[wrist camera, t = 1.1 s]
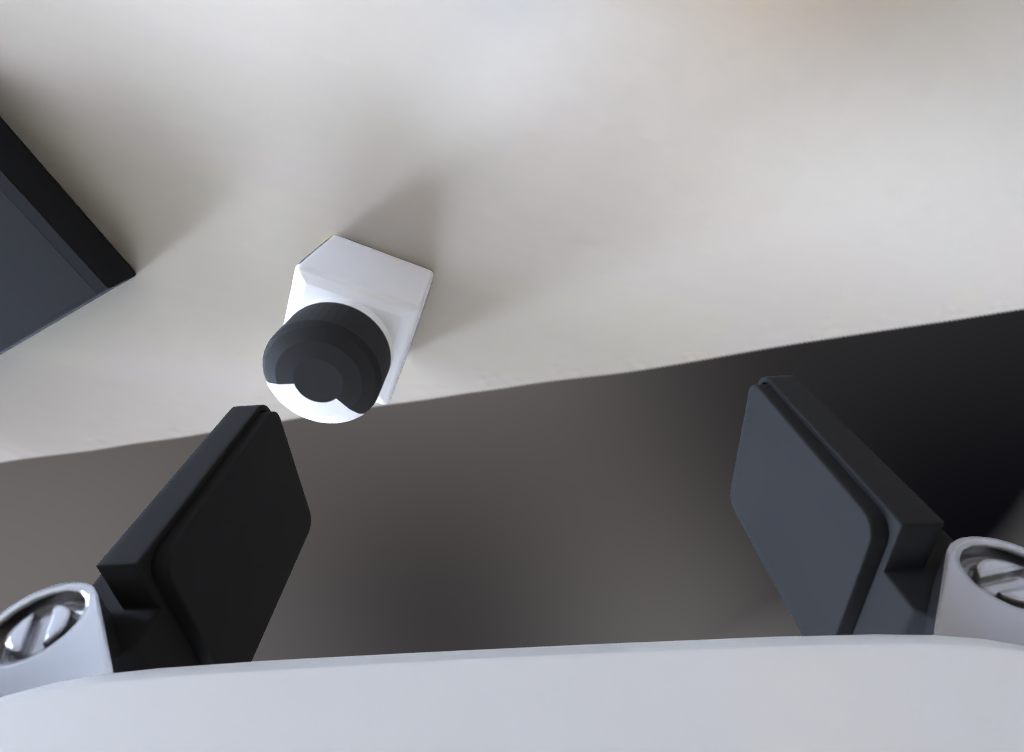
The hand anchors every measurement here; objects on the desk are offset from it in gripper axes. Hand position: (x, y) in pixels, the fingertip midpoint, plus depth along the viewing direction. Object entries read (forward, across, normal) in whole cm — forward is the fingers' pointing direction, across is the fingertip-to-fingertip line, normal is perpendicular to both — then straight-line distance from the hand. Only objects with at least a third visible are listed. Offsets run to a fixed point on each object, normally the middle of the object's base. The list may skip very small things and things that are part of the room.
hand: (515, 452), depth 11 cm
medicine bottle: (+27, +10, +6) cm, 29 cm away
